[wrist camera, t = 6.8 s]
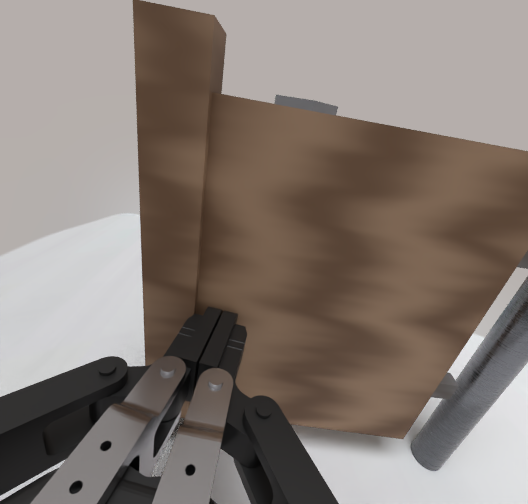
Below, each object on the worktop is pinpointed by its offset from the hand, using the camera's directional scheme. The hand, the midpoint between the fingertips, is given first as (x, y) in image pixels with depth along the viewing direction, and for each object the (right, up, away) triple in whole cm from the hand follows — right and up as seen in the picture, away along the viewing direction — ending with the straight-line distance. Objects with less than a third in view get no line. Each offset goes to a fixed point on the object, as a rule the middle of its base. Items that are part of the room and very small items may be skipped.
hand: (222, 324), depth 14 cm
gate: (+3, -9, +5) cm, 11 cm away
